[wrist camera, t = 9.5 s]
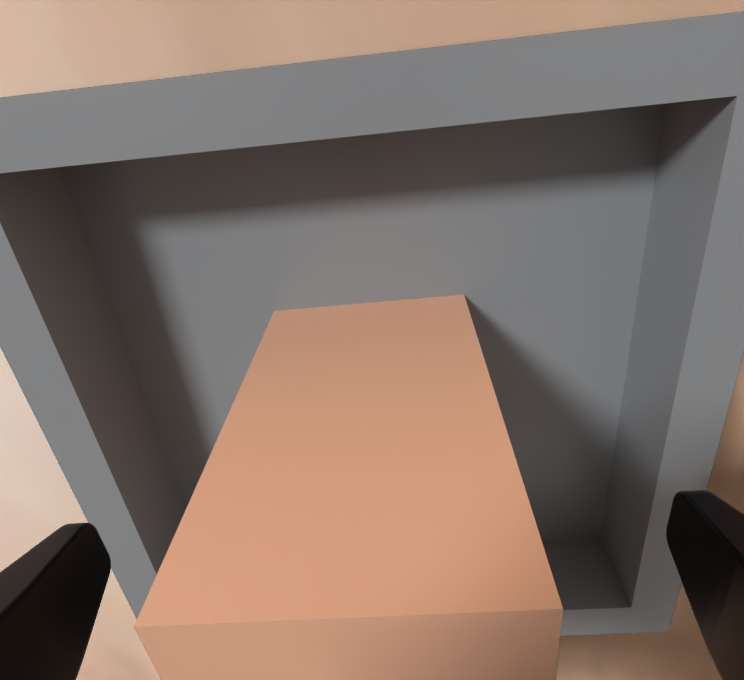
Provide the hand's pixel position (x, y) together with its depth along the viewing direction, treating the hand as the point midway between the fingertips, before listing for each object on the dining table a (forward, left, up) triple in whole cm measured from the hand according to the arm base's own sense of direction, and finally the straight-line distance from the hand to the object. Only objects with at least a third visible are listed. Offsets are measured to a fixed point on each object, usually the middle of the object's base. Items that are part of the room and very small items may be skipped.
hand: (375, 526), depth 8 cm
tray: (0, 0, -5) cm, 5 cm away
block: (0, 0, -4) cm, 4 cm away
